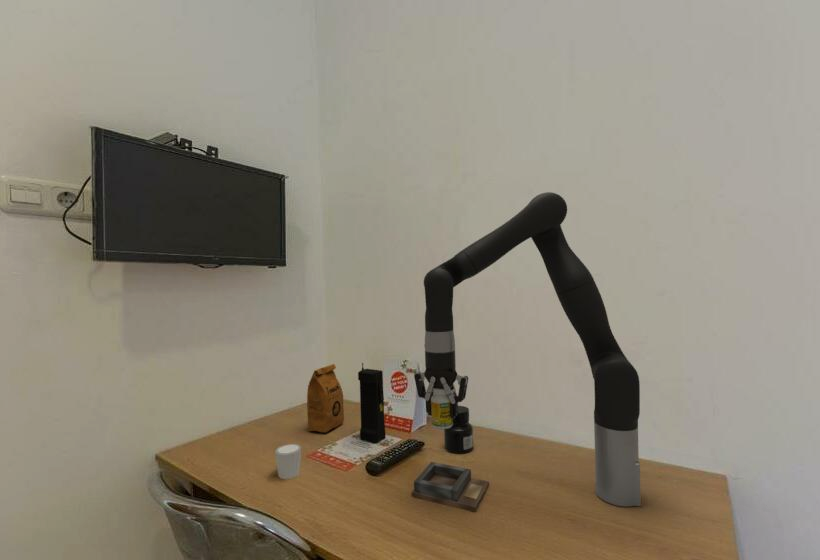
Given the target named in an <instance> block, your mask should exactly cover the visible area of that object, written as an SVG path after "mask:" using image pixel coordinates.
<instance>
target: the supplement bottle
mask: <svg viewBox="0 0 820 560" xmlns="http://www.w3.org/2000/svg"><path fill="white" fill-rule="evenodd" d="M433 393H434V394H433V396H432V397H431V416H430V417H431V426H432V427H433V428H434V429H438V430H444V429H448V428H450V427H452V425H453V419H452V418H451V416H450V403H451V401H450V399H449V396H448V395H447V394H446V391H445V389H439V388H433Z"/></svg>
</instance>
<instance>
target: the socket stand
mask: <svg viewBox="0 0 820 560" xmlns="http://www.w3.org/2000/svg"><path fill="white" fill-rule="evenodd" d="M489 486H490V481H487V480H483V479H478V478H473V477H472V469H470V468H465V467H460V466H456V465H450V464H445V463H439V462H434V461H431V462H430V463H429V464H428V465H427V466H426V467H425V468H424V469H423V470H422V472H421V473H420V474H419V475H418V476H417V478H416V479H415V480H414V481H413V490H411V497H413V498H417V499H421V500H425V501H429V502H434V503H437V504H441V505H442V504H443V505H446V506H449V507H454V508H457V509H463V510H467V511H471V512H477V510H478V508H479V506H480V504H481V502H482V501H483V498H484V496H485V494H486V492H487V490H488V488H489Z"/></svg>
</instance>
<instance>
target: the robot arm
mask: <svg viewBox="0 0 820 560" xmlns="http://www.w3.org/2000/svg"><path fill="white" fill-rule="evenodd" d="M567 214H568V205H567V202H566V200H565V199H564V197H562V196H561V195H559V194H558V193H555V192H551V191H549V192H548V191H547V192H543V193H540V194H538V195H536V196H535V197H533V198H532V199H531V200H530V201H529V203H528V204H527V205H526V206H524V208H522V210H520V211H518V212H517V214H515V215H514V216H513V217H511V218H510V219H509V220H507V221H506V222H505V223H503V224H501V226H499V227H496V228H495V229H494V230H492V231H491V232H489V233H487V234H486V235H484V236H483V237H481V238H479V239H478V240H476V241H475V242H474V241H473V242H472V243H471V244H469V245H468V246H466V247H464V248H463V249H462V250H460V251H459V252H458V253H456V254H455V255H454V256H452V257H451V258H449V259H448V260H446V261H444V262H443V263H441V264H439V265H437V266H436V267H434V268H433V269H431V270H429V271H428V272H427V273H426V274H425V275H424V278H423V287H424V295H425V297H424V298H425V314H424V323H425V324H424V330H425V331H424V332H425V334H424V346H423V347H424V359H425V360H424V362H425V363H424V364H425V365H424V366H425V370H424V371H423V372H422V371H419V372H417V373H414V375H413V377H414V382H415V387H416V392H417V395H418V397H419V398H421V399H424V401H425V412H426V413H427V414H428V416H430V417H431V397H432V396H433V395H434V393H433V388H439V389H445V391H446V394H447V395H448V396H449V399H450V401H451V403H450V416H451V418H452V419H454V418H455V417H456V416H457V415H458V406H459V403H461V402H463V401H464V400H465V399H466V395H467V389H468V382H469V376H468V375H464V376H462V375H460V374H458V372H457V371H456V369H457V366H456V339H455V334H454V333H455V332H454V315H453V314H454V312H453V305H454V304H453V303H454V288H455V287H456V286H458V285H460V284H461V283H463V282H464V281H465V280H468V279H471V278H472V277H475V276H477V275H478V274H479V273H481V272H482V271H484V270H485V269H487V268H489V267H491V266H492V265H493V264H495V263H496V262H497V261H498V260H500V259H501V258H503V257H504V256H505V255H506V254H508V253H509V252H511V251H512V250H513V249H515V248H516V247H517V246H518V245H520V244H522V243H524V242H525V241H527V240H528V239H530V238H531V240H532V242H533V243H534V245H535V246H536V248H537V249H538V252H539V254H540V256H541V258H542V261H543V263H544V266H545V269H546V272H547V274H548V276H549V279H550V282H551V283H552V286H553V288H554V291H555V294H556V297H557V298H558V301H559V303H560V305H561V307H562V310H563V311H564V314H565V315H566V317H567V319H568V321H569V323H570V324H571V325H572V327H573V329H574V330H575V332H576V334H577V335H578V337H579V339H580V341H581V342H582V346H583V347H584V351H585V354H586V356H587V360H588V364H589V366H590V370H591V371H590V372H591V374H592V378H593V380H594V381H593V382H594V387H593V388H594V410H593V421H594V422H593V424H594V425H593V426H594V427H593V428H594V430H593V431H594V433H593V434H594V464H595V465H594V471H595V472H594V473H595V474H594V475H595V493H596V495H597V497H598V498H600V499H601V500H602V501H604V502H606V503H609V504H610V505H614V506H618V507H627V508H628V507H641V506H642V503H641V502H642V501H641V500H642V499H641V463H640V461H639V459H640V458H639V452H640V451H639V419H640V412H641V411H640V406H641V405H640V403H641V400H640V399H641V398H640V397H641V396H640V395H641V394H640V393H641V391H640V384H641V383H640V378H639V374H638V371H637V369H636V368H635V367H634V366H633V364H632V363H631V362H630V361H629V359H628V358H627V357H626V356H625V353H623V350H622V348H621V347H620V345H619V343H618V342H617V340H616V338H615V336H614V334H613V332H612V329H611V325H610V321H609V318H608V313H607V309H606V307H605V304H604V303H605V302H604V301H603V298H602V295H601V293H600V290H599V288H598V286H597V284H596V282H595V281H596V280H594V279H595V278H594V277H593V275H592V273H591V271H589V269H588V268H587V266H586V265H585V263H583V261H582V260H581V259H580V258H579V257H578V255H576V253H575V252H574V251H573V250H572V248H571V247H570V246H569V244H568V241H567V239H566V237H565V234H564V232H563V229H562V224H563V222H564V221H565V219H566V217H567ZM425 379H426V380H427V382H428V386H427V388H426V385H425ZM456 381H457V385H459V388H458V392H456V391H457V390H456V387H455V384H454V383H456Z"/></svg>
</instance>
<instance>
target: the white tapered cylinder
mask: <svg viewBox="0 0 820 560" xmlns="http://www.w3.org/2000/svg"><path fill="white" fill-rule="evenodd" d="M274 455H275V461H276V468H277V476H278V478H279V477H280V478H279V479H281V478H284V479H283V480H290V478H291V479H293V478H296V477H297V476H299V475H300V472H301V458H302V457H301V455H302V446H301V445H300V444H297V443H288V444H283V445H280V446H279V447H277V448H276V449H275V451H274Z"/></svg>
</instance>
